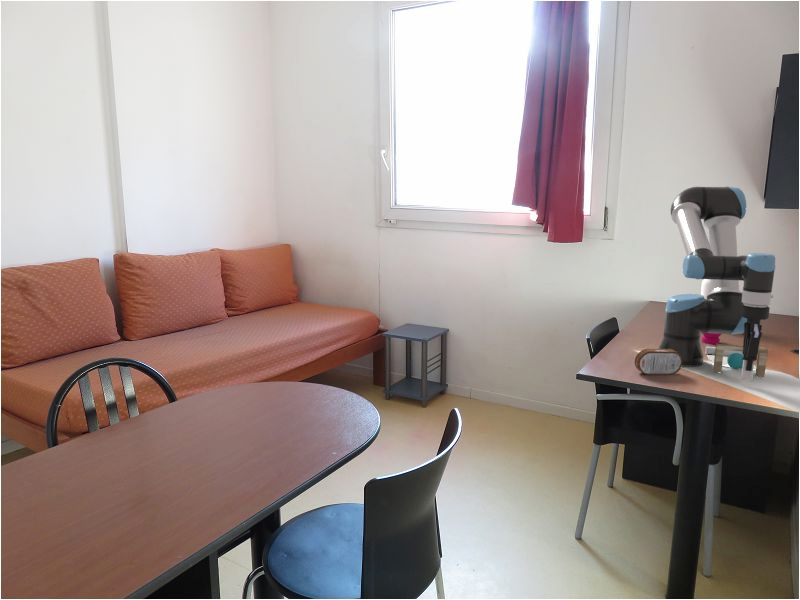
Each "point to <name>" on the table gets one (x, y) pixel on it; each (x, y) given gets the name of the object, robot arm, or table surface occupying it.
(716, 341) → the pepper mill
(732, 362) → the ball
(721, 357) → the bridge
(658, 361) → the tin
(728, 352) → the stopper wall
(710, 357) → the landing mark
